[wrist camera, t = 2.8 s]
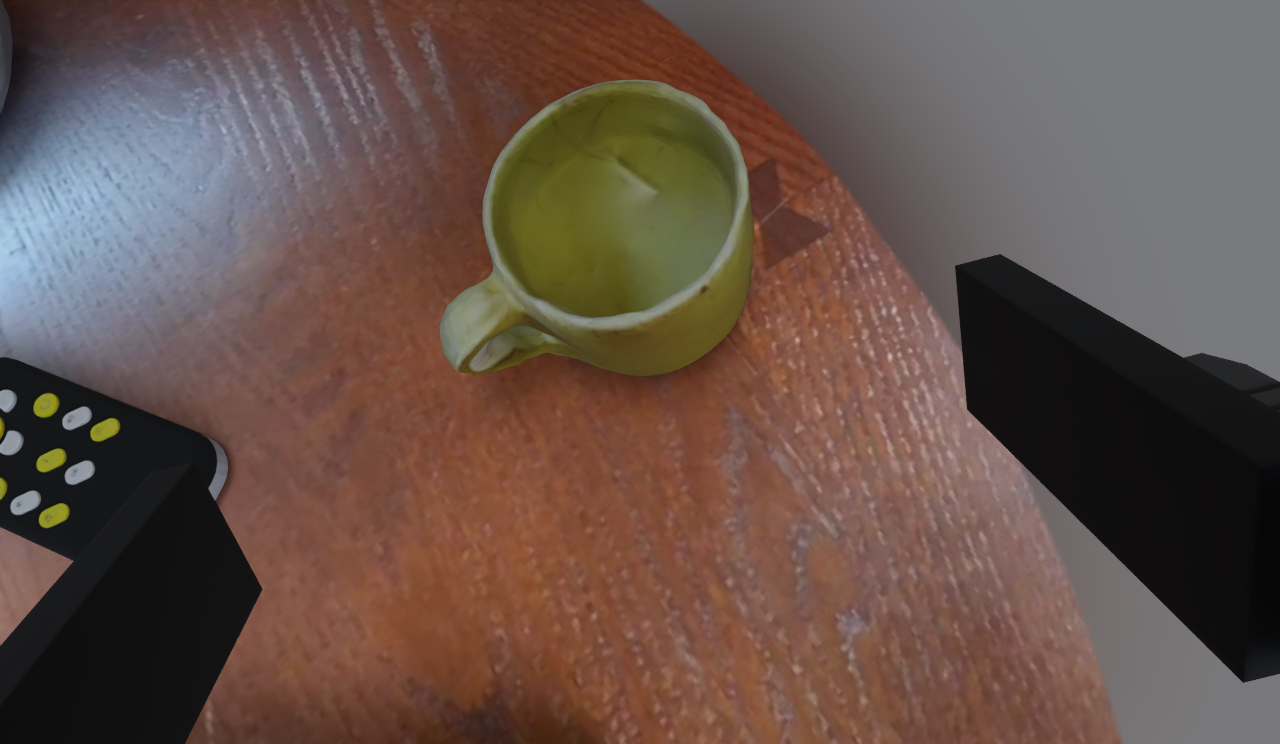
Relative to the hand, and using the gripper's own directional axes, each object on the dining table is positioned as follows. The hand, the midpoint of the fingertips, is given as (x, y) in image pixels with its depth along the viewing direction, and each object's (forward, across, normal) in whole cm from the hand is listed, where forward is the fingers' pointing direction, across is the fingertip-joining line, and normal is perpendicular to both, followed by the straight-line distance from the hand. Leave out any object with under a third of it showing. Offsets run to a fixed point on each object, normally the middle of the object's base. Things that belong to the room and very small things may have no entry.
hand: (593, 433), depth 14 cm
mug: (+20, 0, -5) cm, 21 cm away
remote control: (+20, -23, -6) cm, 31 cm away
